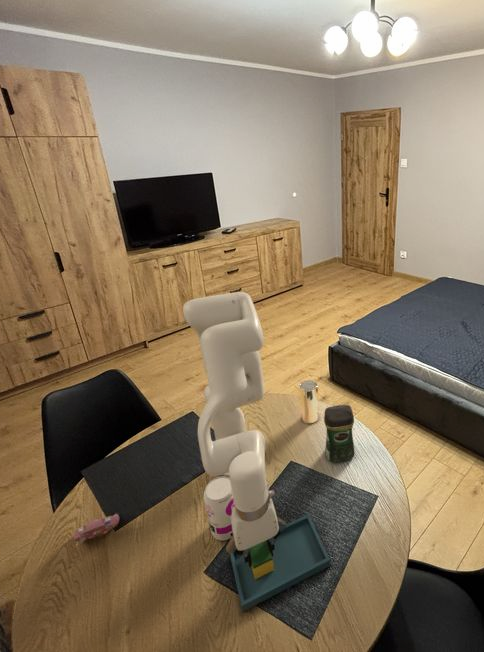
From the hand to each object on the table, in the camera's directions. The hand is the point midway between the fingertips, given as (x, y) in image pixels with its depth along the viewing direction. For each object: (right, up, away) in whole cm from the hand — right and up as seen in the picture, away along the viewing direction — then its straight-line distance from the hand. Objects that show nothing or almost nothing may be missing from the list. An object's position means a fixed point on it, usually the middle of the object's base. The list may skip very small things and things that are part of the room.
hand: (259, 555), depth 90 cm
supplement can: (-11, 0, +10) cm, 15 cm away
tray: (+4, -3, +2) cm, 6 cm away
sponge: (0, -2, +1) cm, 2 cm away
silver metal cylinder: (+8, +18, +50) cm, 54 cm away
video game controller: (-45, 0, +9) cm, 46 cm away
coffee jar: (+20, +11, +34) cm, 40 cm away
